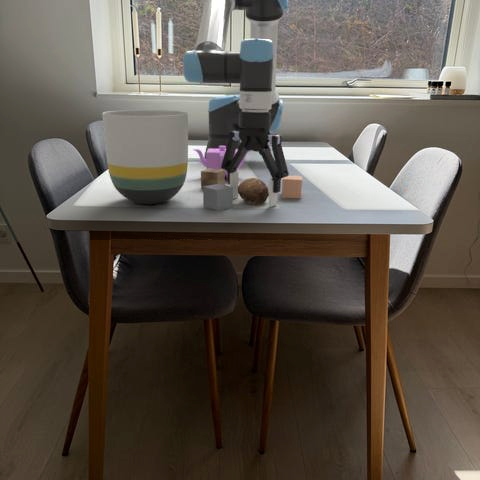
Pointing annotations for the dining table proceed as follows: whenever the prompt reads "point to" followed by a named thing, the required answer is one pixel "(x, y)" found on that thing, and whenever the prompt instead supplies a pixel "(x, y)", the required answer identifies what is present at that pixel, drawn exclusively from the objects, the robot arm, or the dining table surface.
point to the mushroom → (253, 191)
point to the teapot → (216, 158)
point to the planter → (146, 153)
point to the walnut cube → (212, 177)
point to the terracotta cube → (291, 187)
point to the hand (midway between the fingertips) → (252, 201)
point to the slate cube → (217, 197)
